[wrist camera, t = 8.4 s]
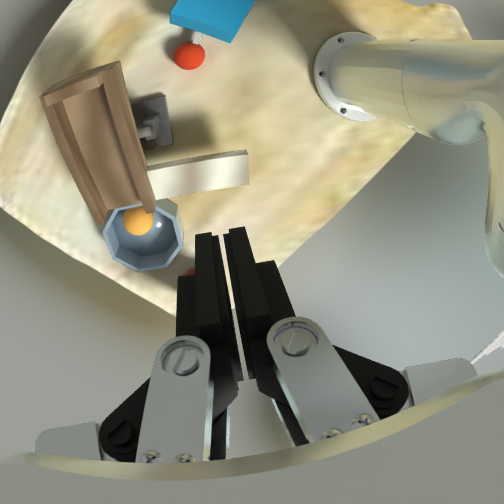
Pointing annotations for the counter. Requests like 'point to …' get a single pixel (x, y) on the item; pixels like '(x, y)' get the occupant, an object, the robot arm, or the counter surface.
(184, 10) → the lever
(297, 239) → the counter surface
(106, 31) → the counter surface
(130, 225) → the ball
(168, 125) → the pivot stand
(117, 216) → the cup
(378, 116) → the robot arm
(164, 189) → the chute lever
